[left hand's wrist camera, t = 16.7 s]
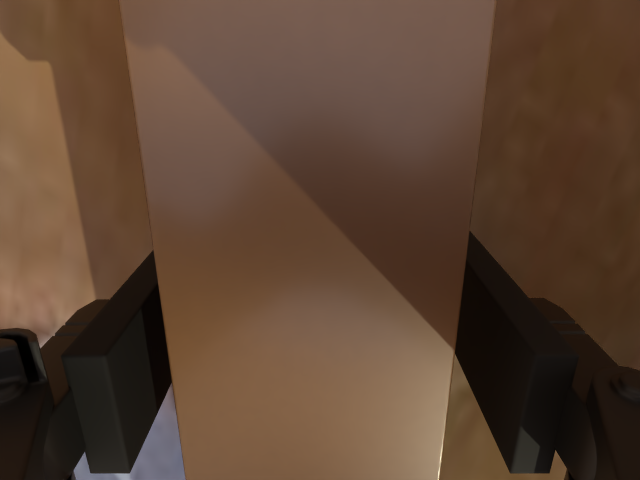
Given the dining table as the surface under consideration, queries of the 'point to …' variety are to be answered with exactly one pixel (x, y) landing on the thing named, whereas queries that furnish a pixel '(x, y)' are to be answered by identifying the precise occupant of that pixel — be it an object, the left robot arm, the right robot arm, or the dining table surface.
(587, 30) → the dining table surface
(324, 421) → the beam
